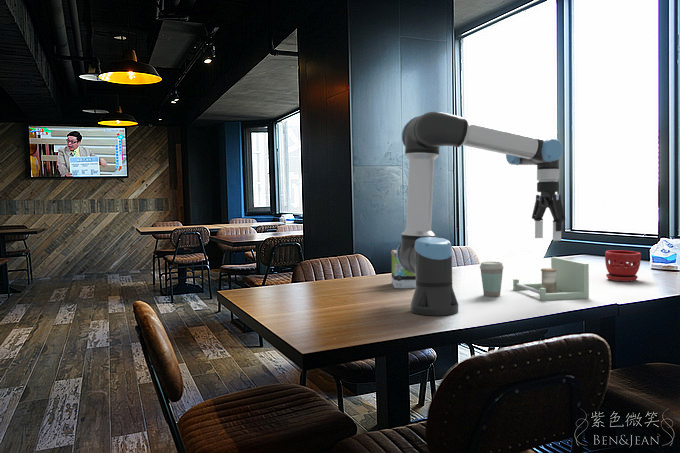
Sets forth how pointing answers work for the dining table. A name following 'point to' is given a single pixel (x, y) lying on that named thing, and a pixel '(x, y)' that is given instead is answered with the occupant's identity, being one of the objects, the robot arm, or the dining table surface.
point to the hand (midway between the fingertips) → (547, 239)
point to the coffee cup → (491, 278)
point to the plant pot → (622, 265)
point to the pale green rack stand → (563, 281)
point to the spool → (549, 279)
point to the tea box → (401, 274)
